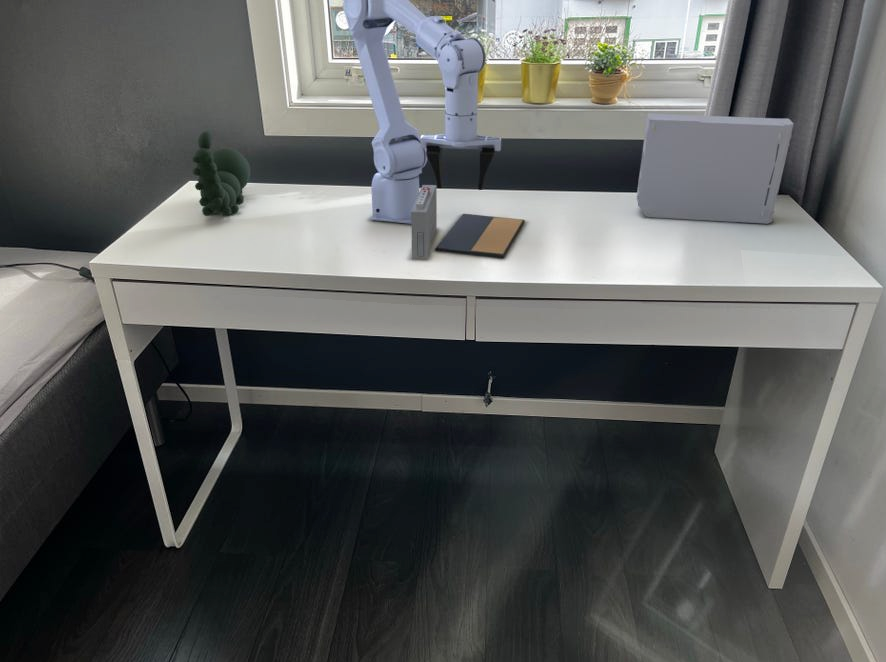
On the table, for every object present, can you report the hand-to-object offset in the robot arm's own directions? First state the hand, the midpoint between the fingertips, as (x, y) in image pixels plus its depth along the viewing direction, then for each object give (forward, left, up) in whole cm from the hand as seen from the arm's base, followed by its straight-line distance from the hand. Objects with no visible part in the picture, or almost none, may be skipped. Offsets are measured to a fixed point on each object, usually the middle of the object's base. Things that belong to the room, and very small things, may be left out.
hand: (460, 187), depth 142 cm
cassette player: (-6, -4, -10) cm, 13 cm away
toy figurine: (-53, +4, -10) cm, 54 cm away
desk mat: (+4, +3, -10) cm, 11 cm away
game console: (+45, +27, -10) cm, 54 cm away
